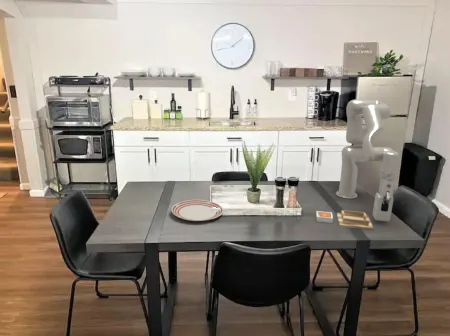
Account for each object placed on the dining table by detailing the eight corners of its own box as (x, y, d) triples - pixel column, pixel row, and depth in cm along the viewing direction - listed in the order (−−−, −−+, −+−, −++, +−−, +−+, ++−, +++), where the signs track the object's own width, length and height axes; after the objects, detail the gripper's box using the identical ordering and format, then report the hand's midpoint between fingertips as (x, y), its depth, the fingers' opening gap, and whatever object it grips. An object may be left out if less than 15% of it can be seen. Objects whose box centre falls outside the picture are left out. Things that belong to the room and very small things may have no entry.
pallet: (336, 214, 196) (337, 208, 195) (367, 217, 193) (368, 211, 192) (339, 226, 181) (340, 220, 180) (373, 230, 178) (374, 223, 177)
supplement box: (390, 221, 184) (394, 198, 181) (374, 220, 186) (378, 197, 182) (386, 215, 191) (390, 193, 188) (372, 214, 193) (375, 192, 189)
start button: (319, 215, 193) (319, 211, 192) (328, 216, 192) (329, 212, 191) (319, 219, 188) (319, 215, 187) (329, 220, 187) (329, 216, 186)
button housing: (315, 215, 195) (316, 210, 194) (331, 216, 193) (331, 212, 192) (316, 221, 187) (317, 216, 186) (332, 223, 186) (333, 218, 185)
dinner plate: (233, 214, 194) (234, 208, 193) (196, 230, 174) (196, 223, 173) (198, 201, 212) (198, 196, 211) (160, 214, 192) (160, 208, 191)
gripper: (400, 181, 173) (394, 215, 178) (391, 171, 189) (386, 202, 194) (383, 180, 174) (378, 213, 179) (376, 169, 191) (371, 201, 196)
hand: (382, 207), depth 187 cm, fingers closed on supplement box, 7 cm apart
